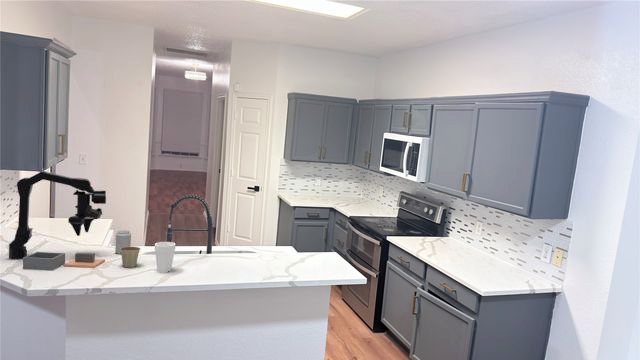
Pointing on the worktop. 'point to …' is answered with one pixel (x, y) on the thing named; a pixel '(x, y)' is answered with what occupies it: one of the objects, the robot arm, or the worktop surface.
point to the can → (122, 240)
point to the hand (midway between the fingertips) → (82, 233)
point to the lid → (84, 261)
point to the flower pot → (129, 256)
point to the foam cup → (164, 255)
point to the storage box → (43, 261)
